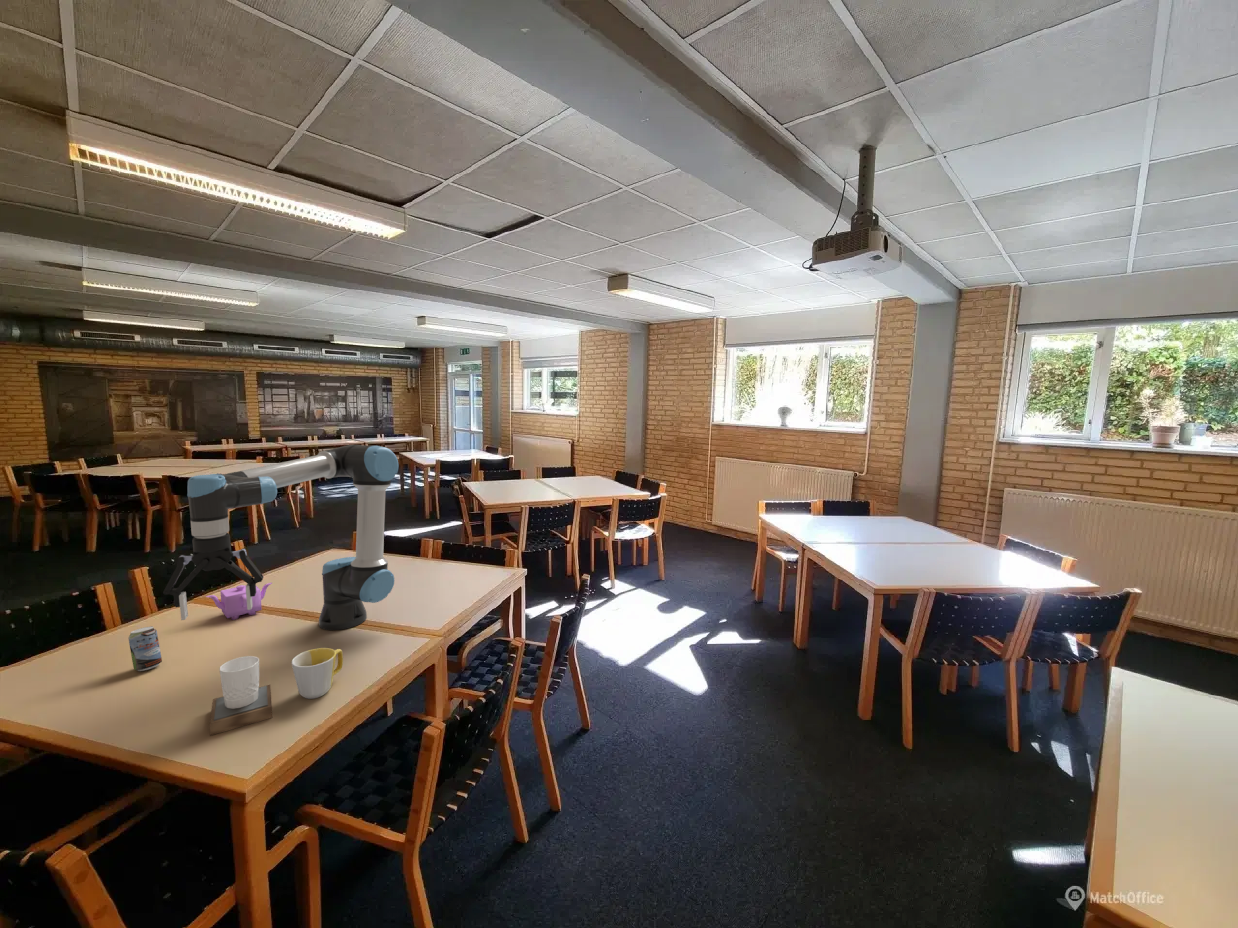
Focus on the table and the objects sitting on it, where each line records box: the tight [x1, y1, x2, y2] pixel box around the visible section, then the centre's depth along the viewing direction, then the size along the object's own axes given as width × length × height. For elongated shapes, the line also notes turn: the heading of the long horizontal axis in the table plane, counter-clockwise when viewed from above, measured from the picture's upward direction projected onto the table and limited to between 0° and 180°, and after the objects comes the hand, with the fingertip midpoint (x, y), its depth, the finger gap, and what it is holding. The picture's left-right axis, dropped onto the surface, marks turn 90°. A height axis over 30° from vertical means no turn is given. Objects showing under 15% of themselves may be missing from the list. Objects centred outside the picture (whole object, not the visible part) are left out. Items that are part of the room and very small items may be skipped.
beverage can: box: [128, 625, 163, 672], centre depth 144 cm, size 6×7×12 cm
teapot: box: [205, 582, 273, 621], centre depth 182 cm, size 15×13×11 cm
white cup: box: [219, 655, 260, 709], centre depth 123 cm, size 8×8×10 cm
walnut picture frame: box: [209, 684, 273, 736], centre depth 124 cm, size 12×12×3 cm
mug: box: [291, 647, 344, 700], centre depth 135 cm, size 14×10×10 cm
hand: (218, 612), depth 130 cm, fingers open, 13 cm apart
